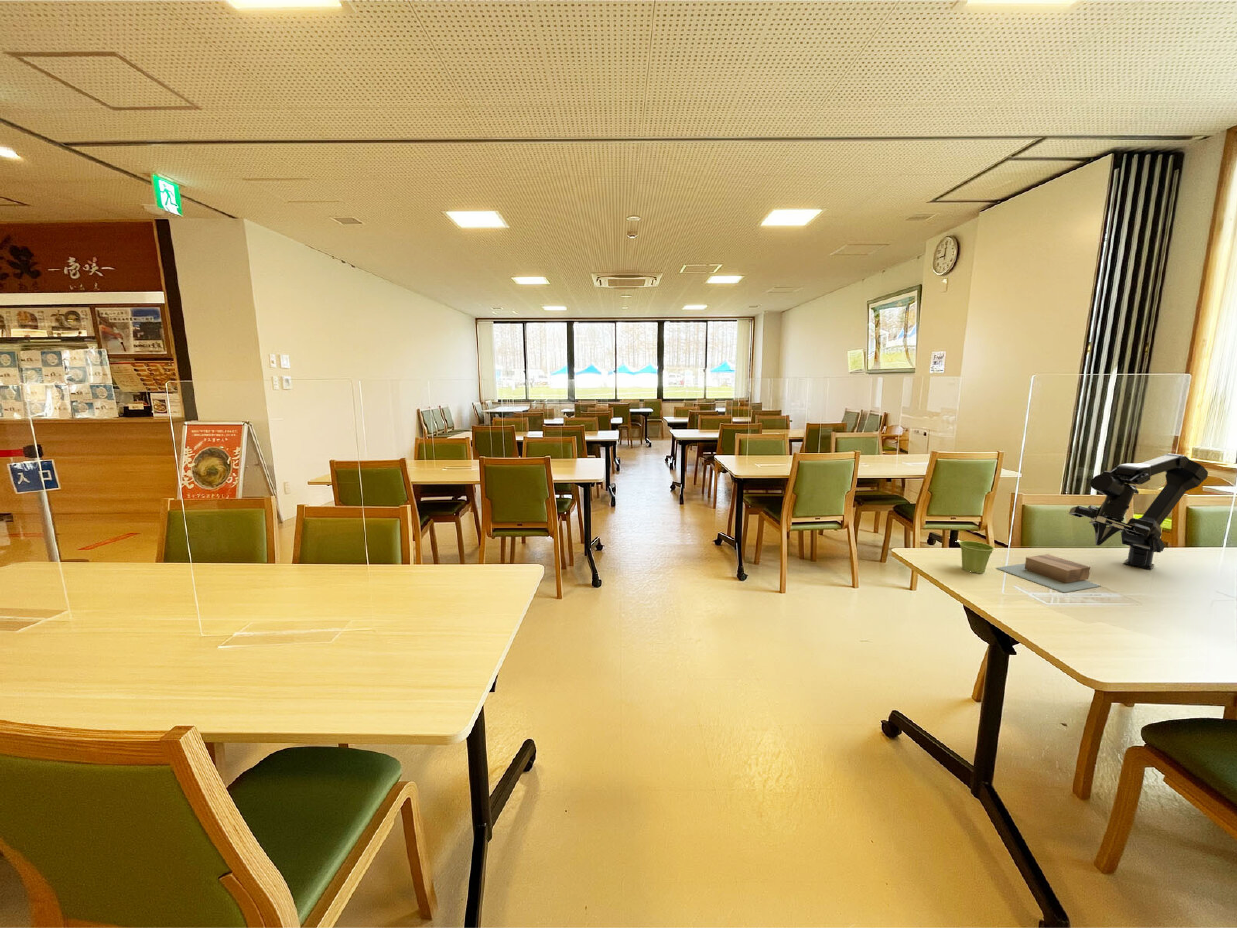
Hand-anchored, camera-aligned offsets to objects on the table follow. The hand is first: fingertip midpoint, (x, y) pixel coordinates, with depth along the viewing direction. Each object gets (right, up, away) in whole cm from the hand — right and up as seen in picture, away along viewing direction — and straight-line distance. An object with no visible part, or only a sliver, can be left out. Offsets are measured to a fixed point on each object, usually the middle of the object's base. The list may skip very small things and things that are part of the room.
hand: (1097, 545), depth 161 cm
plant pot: (-38, -9, +3) cm, 40 cm away
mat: (-19, -10, -3) cm, 22 cm away
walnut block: (-11, -7, -1) cm, 13 cm away
